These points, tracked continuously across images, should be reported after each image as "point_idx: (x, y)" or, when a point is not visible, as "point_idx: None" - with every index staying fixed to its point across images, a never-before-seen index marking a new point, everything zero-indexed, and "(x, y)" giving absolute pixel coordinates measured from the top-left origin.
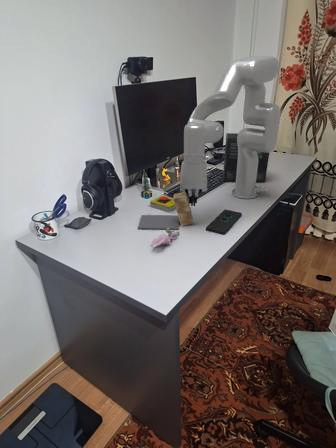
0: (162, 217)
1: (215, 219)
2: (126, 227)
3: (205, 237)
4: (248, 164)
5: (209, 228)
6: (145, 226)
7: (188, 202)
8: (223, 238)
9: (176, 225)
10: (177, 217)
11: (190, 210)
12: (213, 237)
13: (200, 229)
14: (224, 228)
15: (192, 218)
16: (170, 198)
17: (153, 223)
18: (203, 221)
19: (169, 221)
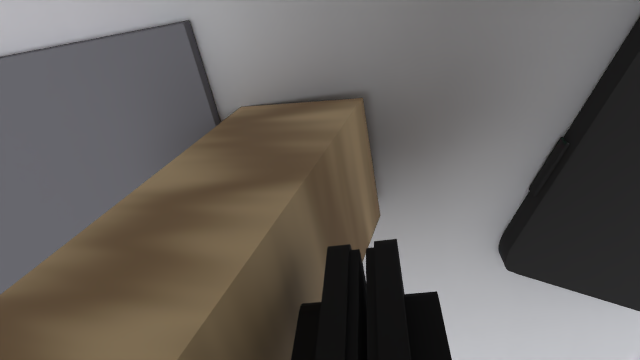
0: (40, 112)
1: (637, 82)
2: None
3: (490, 340)
4: None
5: (538, 272)
6: (10, 284)
7: (290, 298)
8: (631, 339)
9: None
10: (185, 84)
11: (336, 228)
12: (553, 335)
13: (450, 244)
14: None
15: (366, 182)
16: None
17: (36, 235)
18: (480, 88)
19: (145, 180)
